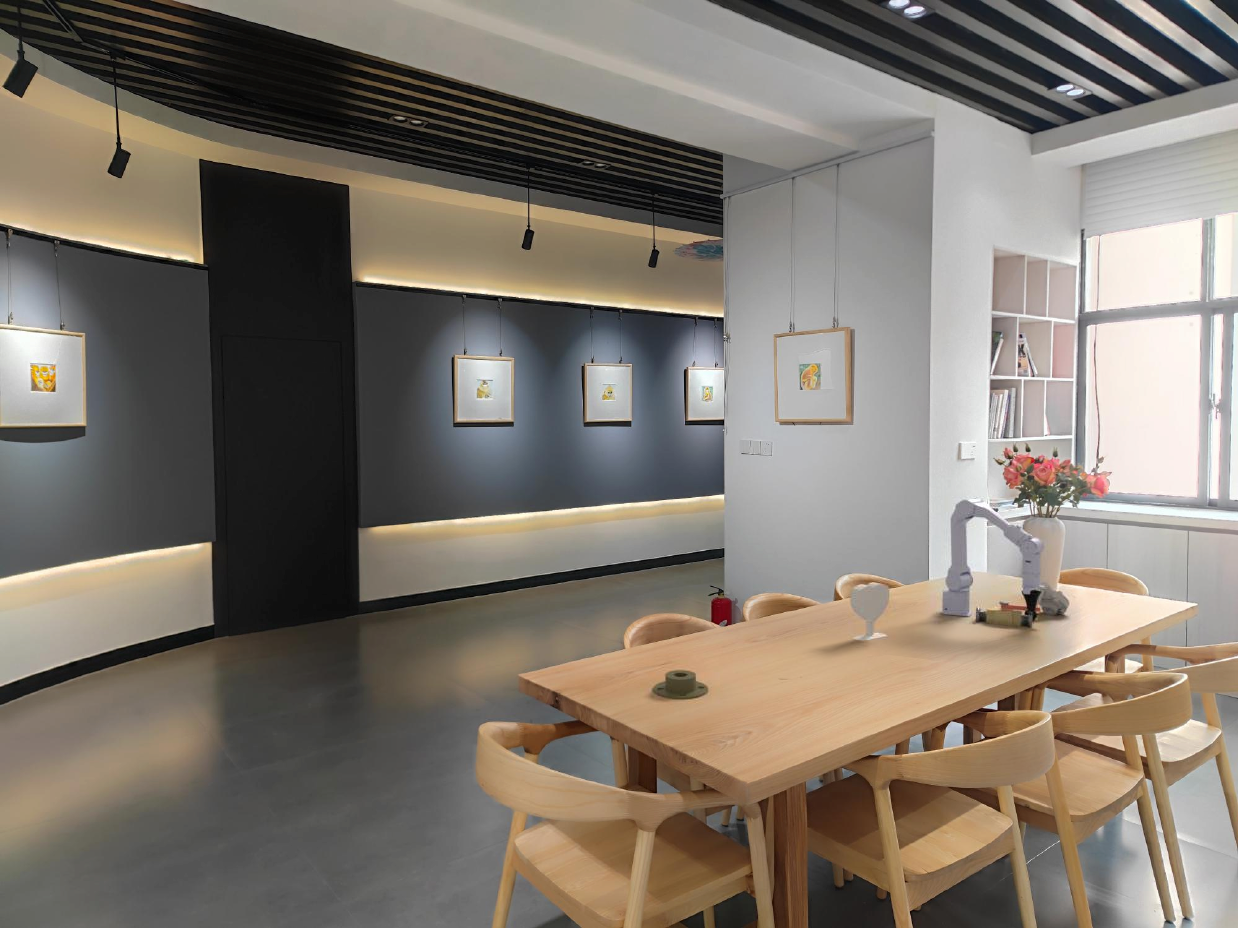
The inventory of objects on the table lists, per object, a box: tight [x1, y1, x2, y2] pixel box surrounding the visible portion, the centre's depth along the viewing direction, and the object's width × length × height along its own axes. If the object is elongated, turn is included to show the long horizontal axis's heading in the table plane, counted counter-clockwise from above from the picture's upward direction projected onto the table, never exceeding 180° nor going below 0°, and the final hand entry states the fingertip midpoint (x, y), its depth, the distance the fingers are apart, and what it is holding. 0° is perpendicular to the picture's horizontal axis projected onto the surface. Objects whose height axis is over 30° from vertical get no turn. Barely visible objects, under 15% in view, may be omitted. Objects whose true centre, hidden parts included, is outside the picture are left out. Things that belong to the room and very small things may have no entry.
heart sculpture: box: [849, 581, 890, 642], centre depth 274 cm, size 16×5×18 cm, turn 122°
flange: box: [653, 669, 709, 700], centre depth 223 cm, size 5×15×15 cm
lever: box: [999, 601, 1041, 613], centre depth 287 cm, size 13×3×2 cm, turn 63°
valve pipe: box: [975, 606, 1034, 628], centre depth 290 cm, size 18×6×6 cm, turn 60°
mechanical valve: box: [1023, 581, 1070, 621], centre depth 298 cm, size 10×18×15 cm
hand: (1031, 611), depth 284 cm, fingers closed
